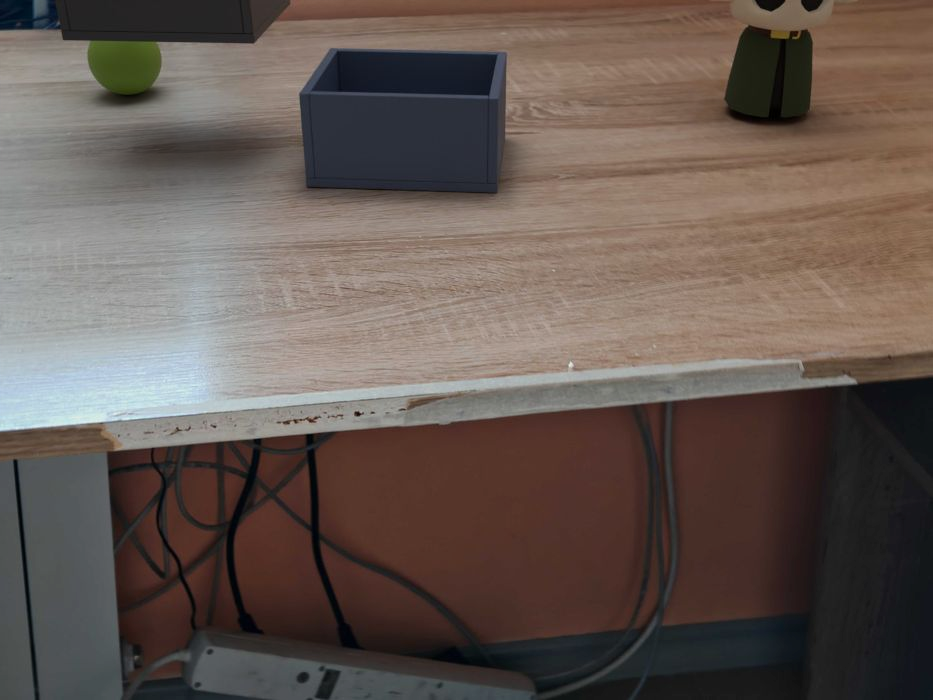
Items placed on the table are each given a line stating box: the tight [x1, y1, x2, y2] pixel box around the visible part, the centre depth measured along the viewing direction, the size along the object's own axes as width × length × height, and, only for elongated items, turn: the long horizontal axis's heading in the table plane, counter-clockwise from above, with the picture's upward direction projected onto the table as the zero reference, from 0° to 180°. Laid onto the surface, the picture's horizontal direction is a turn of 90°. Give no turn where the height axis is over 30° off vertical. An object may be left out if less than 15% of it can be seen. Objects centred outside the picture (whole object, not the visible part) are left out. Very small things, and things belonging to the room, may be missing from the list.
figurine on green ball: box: [86, 41, 163, 96], centre depth 82 cm, size 5×6×12 cm
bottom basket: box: [298, 47, 508, 194], centre depth 70 cm, size 12×10×6 cm
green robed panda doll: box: [709, 0, 859, 119], centre depth 77 cm, size 11×7×13 cm, turn 87°
